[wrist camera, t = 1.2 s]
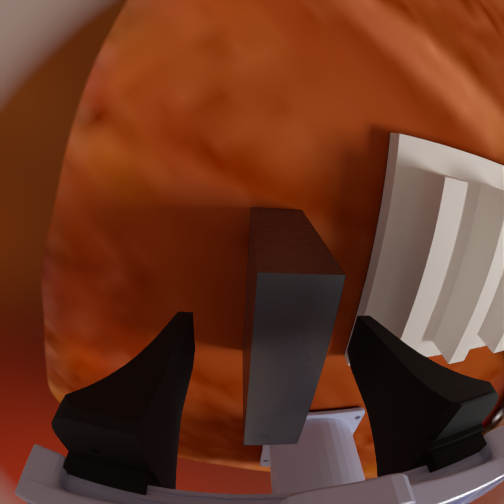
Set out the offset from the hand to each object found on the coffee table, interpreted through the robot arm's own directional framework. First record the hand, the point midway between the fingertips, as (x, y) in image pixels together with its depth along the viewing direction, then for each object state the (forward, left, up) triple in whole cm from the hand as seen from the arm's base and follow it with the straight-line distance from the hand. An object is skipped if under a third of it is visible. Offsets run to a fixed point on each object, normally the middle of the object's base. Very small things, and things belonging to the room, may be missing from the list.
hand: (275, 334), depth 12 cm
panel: (0, 0, -4) cm, 4 cm away
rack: (+2, -15, -4) cm, 16 cm away
